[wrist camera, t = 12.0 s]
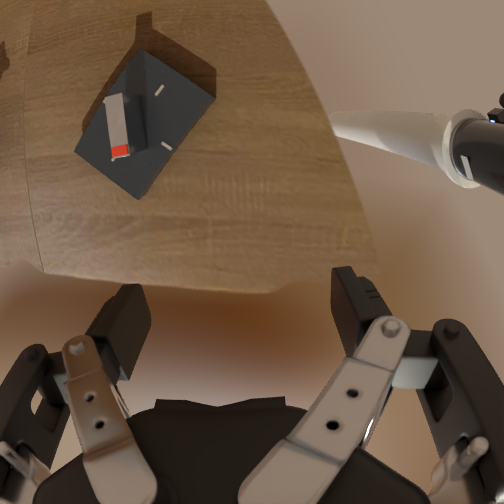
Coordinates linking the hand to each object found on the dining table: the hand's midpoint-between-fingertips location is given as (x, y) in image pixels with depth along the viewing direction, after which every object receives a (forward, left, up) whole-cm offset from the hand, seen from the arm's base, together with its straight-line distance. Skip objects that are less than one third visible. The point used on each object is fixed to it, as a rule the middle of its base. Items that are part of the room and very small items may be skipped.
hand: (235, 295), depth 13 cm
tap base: (+6, -13, -26) cm, 30 cm away
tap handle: (+6, -13, -24) cm, 28 cm away
